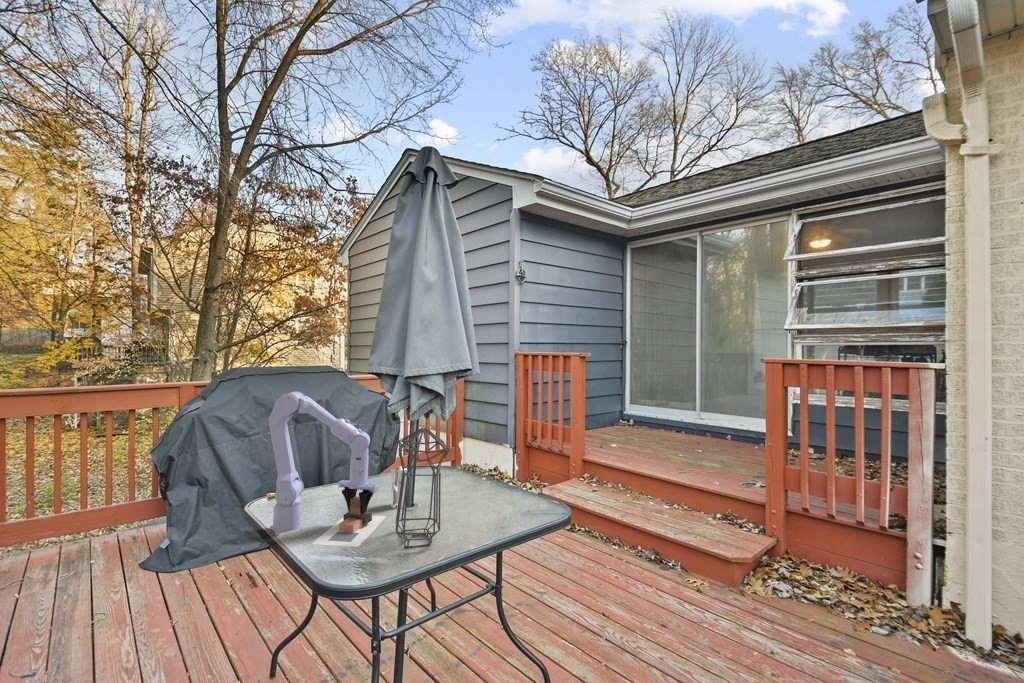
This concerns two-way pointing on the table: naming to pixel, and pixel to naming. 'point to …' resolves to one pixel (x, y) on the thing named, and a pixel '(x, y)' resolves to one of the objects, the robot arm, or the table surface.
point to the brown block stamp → (357, 512)
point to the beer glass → (396, 485)
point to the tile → (350, 525)
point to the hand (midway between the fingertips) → (357, 511)
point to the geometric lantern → (445, 452)
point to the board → (348, 534)
